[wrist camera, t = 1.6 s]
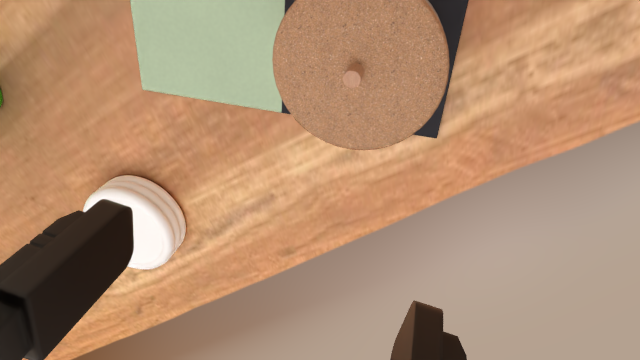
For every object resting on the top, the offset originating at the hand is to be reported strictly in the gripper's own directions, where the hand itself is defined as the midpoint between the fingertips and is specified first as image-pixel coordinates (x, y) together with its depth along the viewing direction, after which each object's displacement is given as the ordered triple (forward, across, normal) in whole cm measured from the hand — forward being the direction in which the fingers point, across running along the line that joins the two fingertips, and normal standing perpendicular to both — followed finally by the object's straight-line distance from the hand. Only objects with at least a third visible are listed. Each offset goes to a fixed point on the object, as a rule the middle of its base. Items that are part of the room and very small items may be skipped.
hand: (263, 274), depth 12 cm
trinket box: (+26, 0, 0) cm, 26 cm away
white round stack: (+26, +19, +24) cm, 40 cm away
